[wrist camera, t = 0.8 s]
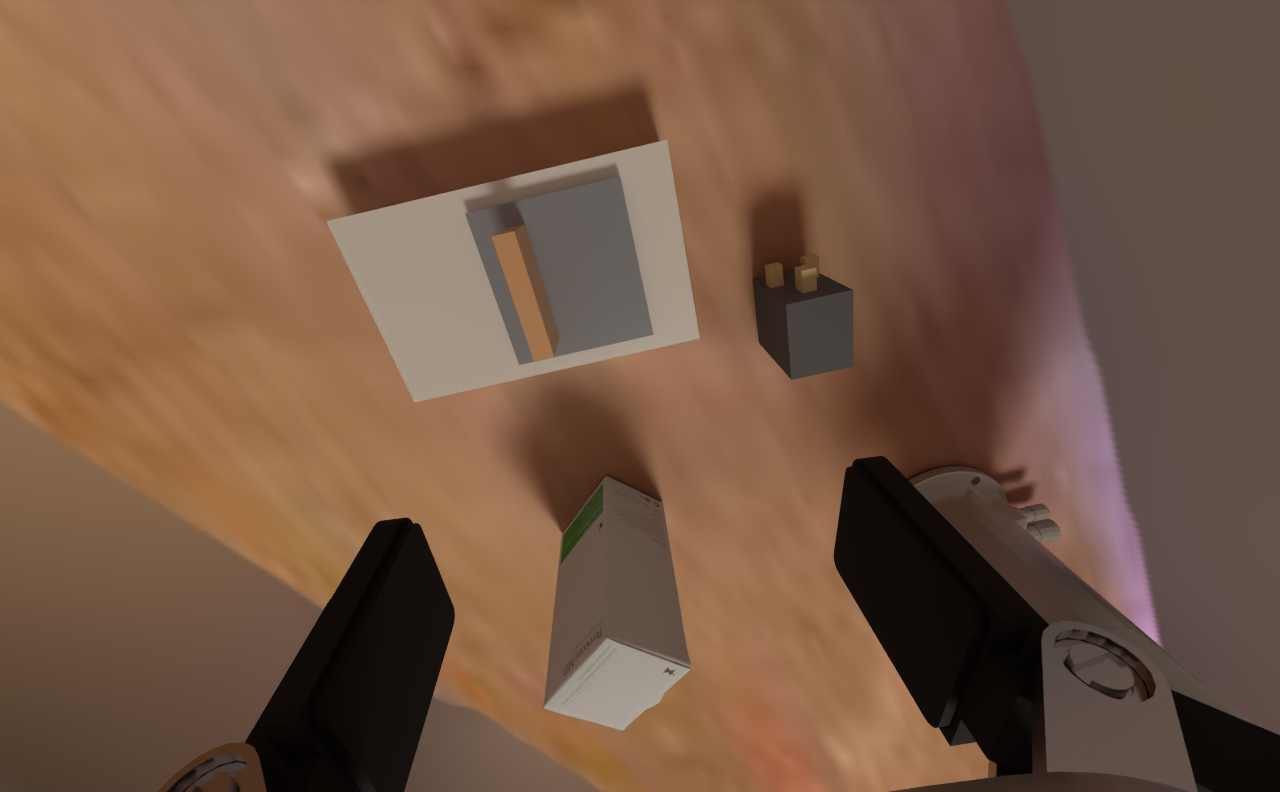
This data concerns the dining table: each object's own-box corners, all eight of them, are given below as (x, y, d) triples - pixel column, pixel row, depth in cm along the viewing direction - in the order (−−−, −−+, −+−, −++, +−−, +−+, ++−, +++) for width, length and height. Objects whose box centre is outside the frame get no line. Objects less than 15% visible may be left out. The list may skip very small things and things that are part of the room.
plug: (805, 247, 33) (852, 266, 27) (810, 331, 36) (853, 366, 30) (750, 260, 33) (784, 281, 27) (759, 343, 36) (791, 379, 30)
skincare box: (606, 472, 40) (607, 631, 26) (668, 502, 42) (699, 667, 28) (558, 535, 43) (536, 711, 29) (618, 562, 45) (624, 738, 31)
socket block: (659, 143, 30) (667, 139, 26) (690, 321, 35) (699, 338, 31) (359, 215, 30) (326, 221, 27) (433, 379, 36) (414, 402, 32)
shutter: (619, 176, 27) (622, 177, 23) (652, 332, 31) (658, 354, 27) (467, 212, 27) (445, 219, 23) (520, 361, 31) (509, 387, 27)
